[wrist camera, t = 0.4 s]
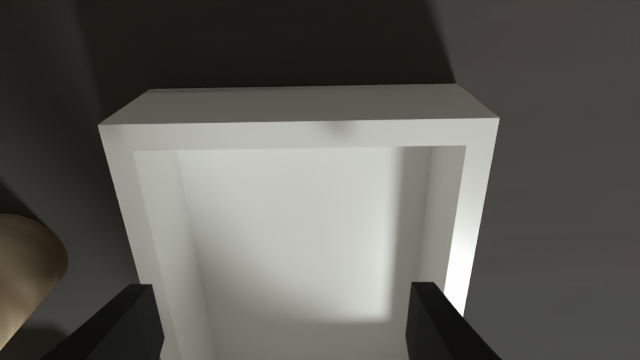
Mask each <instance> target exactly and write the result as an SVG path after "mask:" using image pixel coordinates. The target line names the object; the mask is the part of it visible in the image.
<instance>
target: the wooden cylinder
mask: <svg viewBox="0 0 640 360" xmlns="http://www.w3.org/2000/svg"><path fill="white" fill-rule="evenodd" d="M67 267H68V256H67V252H66V250H65V247H64V246H63V244H62V242H61V241H60V240H59V238H58V237H57V236H56V235H55V234H54V233H53V232H52V231H51V230H50V229H48V228H47V227H45V226H44V225H43V224H41V223H39V222H37V221H35V220H33V219H31V218H28V217H25V216H21V215H16V214H0V350H1V349H2V348H3V347H4V346H5V344H6V343H7V342H8V341H9V340H10V338H11V337H12V336H13V335H14V334H15V333H16V331H17V330H18V329H19V328H20V327H21V325H22V324H23V323H24V322H25V321H26V319H27V318H28V317H29V316H30V315H31V314H32V312H33V311H34V310H35V309H36V308H37V306H38V305H39V304H40V303H41V302H42V300H43V299H44V298H45V297H46V296H47V295H48V293H49V292H50V291H51V290H52V289H53V287H54V286H55V285H56V284H57V283H58V282H59V280H60V279H61V278H62V277H63V275H64V274H65V272H66V270H67Z"/></svg>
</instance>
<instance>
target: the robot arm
mask: <svg viewBox="0 0 640 360" xmlns="http://www.w3.org/2000/svg"><path fill="white" fill-rule="evenodd" d="M405 338H406V344H407V350H408V356H409V360H502V359H501V358H500V357H499V356H498V355H497V354H496V353H495V352H494V351H493V350H492V349H491V348H490V347H489V346H488V345H487V344H486V343H485V341H484V340H483V339H482V338H481V337H480V336H479V335H478V334H477V333H476V331H475V330H474V329H473V328H472V327H471V326H470V325H469V324H468V322H467V321H466V320H465V319H464V318H463V317H462V315H461V314H460V313H459V312H458V311H457V309H456V308H455V307H454V306H453V305H452V303H451V302H450V301H449V300H448V298H447V297H446V296H445V295H444V293H443V292H442V291H441V290H440V288H439V287H438V286H437V285H436V284H435V283H434V282H411V290H410V298H409V307H408V316H407V325H406V333H405ZM164 339H165V336H164V332H163V328H162V324H161V320H160V316H159V311H158V307H157V303H156V299H155V295H154V291H153V286H152V284H130V285H128V286H127V287H126V288H125V289H123V290H122V291H121V292H120V293H119V294H118V295H116V296H115V297H114V298H113V299H112V300H111V301H109V302H108V303H107V304H106V305H105V306H104V307H103V308H101V309H100V310H99V311H98V312H97V313H96V314H95V315H93V316H92V317H91V318H90V319H89V320H87V321H86V322H85V323H84V324H83V325H82V326H80V327H79V328H78V329H77V330H76V331H75V332H73V333H72V334H71V335H70V336H69V337H67V338H66V339H65V340H64V341H63V342H61V343H60V344H59V345H58V346H56V347H55V348H54V349H52V350H51V351H50V352H49V353H47V354H46V355H45V356H44V357H42V358H41V359H40V360H159V357H160V353H161V350H162V346H163V343H164Z"/></svg>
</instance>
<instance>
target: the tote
mask: <svg viewBox="0 0 640 360" xmlns="http://www.w3.org/2000/svg"><path fill="white" fill-rule="evenodd" d="M498 123H499V117H498V116H496V115H495V114H494V113H493V112H491V111H490V110H489V109H488V108H486V107H485V106H484V105H483V104H481V103H480V102H479V101H478V100H476V99H475V98H474V97H473V96H471V95H470V94H469V93H468V92H466V91H465V90H464V89H462V88H461V87H460V86H459V85H457V84H409V85H353V86H296V87H240V88H183V89H149V90H148V91H146V92H145V93H144V94H142V95H141V96H139V97H138V98H136V99H135V100H133V101H132V102H130V103H129V104H127V105H126V106H125V107H123V108H122V109H120V110H119V111H117V112H116V113H114V114H113V115H111V116H110V117H109V118H107V119H106V120H104V121H103V122H101V123H100V124H98V128H99V132H100V136H101V139H102V143H103V147H104V150H105V154H106V158H107V161H108V165H109V169H110V173H111V176H112V180H113V184H114V187H115V191H116V195H117V198H118V202H119V206H120V210H121V213H122V217H123V221H124V224H125V228H126V232H127V235H128V239H129V243H130V246H131V250H132V254H133V258H134V261H135V265H136V269H137V272H138V276H139V280H140V283H141V284H152V286H153V291H154V295H155V299H156V303H157V307H158V311H159V316H160V320H161V324H162V328H163V332H164V336H165V339H164V343H163V346H162V350H161V353H160V357H161V360H409V356H408V350H407V344H406V338H405V333H406V325H407V316H408V307H409V298H410V290H411V282H434V283H435V284H436V285H437V286H438V287H439V288H440V290H441V291H442V292H443V293H444V295H445V296H446V297H447V298H448V300H449V301H450V302H451V303H452V305H453V306H454V307H455V308H456V309H457V311H458V312H459V313H460V314H461V315H462V317H463V313H464V307H465V302H466V296H467V291H468V286H469V280H470V275H471V269H472V264H473V259H474V253H475V248H476V242H477V237H478V231H479V226H480V221H481V215H482V210H483V204H484V199H485V194H486V188H487V183H488V177H489V172H490V167H491V161H492V156H493V150H494V145H495V140H496V134H497V129H498Z"/></svg>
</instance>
